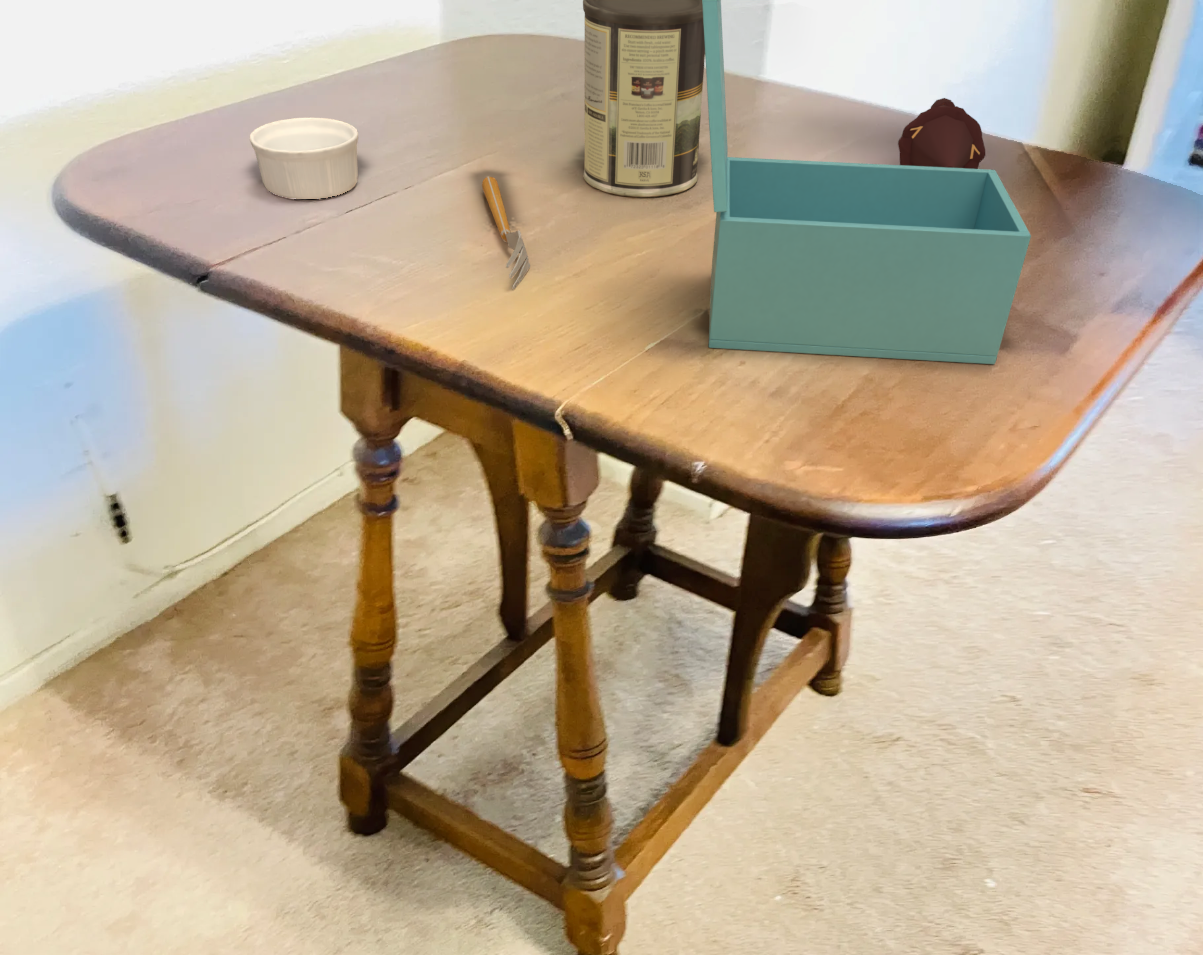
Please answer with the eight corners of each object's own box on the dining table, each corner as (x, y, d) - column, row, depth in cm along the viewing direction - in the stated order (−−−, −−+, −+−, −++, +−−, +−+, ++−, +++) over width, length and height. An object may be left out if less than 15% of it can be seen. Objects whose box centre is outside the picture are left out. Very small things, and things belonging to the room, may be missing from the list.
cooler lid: (711, -196, 62) (698, -194, 62) (708, -177, 53) (692, -174, 53) (727, 149, 74) (716, 150, 74) (727, 211, 65) (714, 212, 66)
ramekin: (385, 181, 94) (379, 129, 91) (311, 212, 88) (303, 157, 85) (312, 161, 98) (304, 110, 95) (236, 189, 92) (226, 136, 89)
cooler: (965, 288, 79) (995, 169, 74) (995, 364, 70) (1031, 235, 65) (711, 275, 80) (721, 156, 75) (708, 348, 71) (719, 219, 66)
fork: (473, 172, 91) (504, 261, 76) (494, 166, 91) (529, 253, 76) (482, 201, 93) (514, 294, 78) (503, 195, 93) (538, 286, 78)
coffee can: (661, 152, 101) (670, -18, 92) (719, 187, 94) (735, 7, 85) (562, 167, 97) (561, -9, 88) (615, 205, 91) (620, 19, 81)
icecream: (1014, 140, 85) (987, 103, 97) (927, 109, 85) (911, 76, 97) (972, 225, 89) (951, 179, 102) (889, 196, 89) (878, 153, 101)
